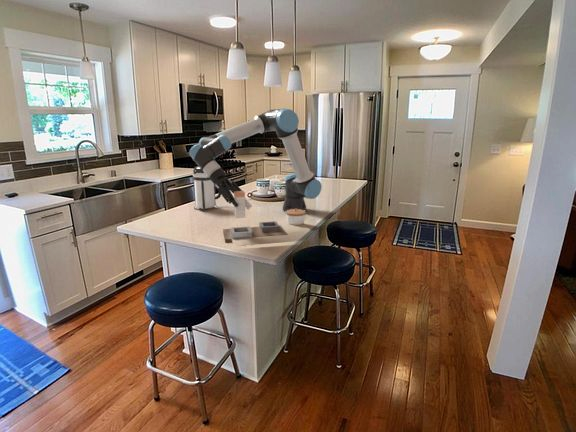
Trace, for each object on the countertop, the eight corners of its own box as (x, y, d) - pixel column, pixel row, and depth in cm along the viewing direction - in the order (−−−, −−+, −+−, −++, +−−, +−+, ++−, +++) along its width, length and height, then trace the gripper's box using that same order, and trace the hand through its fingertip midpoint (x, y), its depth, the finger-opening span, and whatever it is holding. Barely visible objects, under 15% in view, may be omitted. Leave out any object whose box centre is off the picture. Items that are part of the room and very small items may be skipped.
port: (249, 231, 167) (249, 226, 167) (252, 237, 158) (252, 232, 158) (230, 232, 165) (230, 227, 164) (232, 238, 156) (231, 233, 156)
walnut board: (280, 227, 178) (280, 225, 177) (288, 237, 163) (288, 234, 162) (223, 231, 171) (223, 229, 170) (225, 242, 156) (225, 239, 155)
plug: (244, 215, 162) (243, 190, 159) (245, 217, 158) (244, 192, 154) (234, 215, 161) (233, 191, 158) (235, 218, 157) (234, 193, 153)
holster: (276, 225, 176) (276, 221, 175) (279, 230, 168) (279, 226, 167) (259, 227, 174) (259, 222, 173) (262, 232, 166) (262, 227, 165)
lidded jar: (293, 229, 175) (293, 212, 173) (281, 224, 184) (281, 207, 181) (309, 226, 181) (309, 209, 179) (297, 221, 190) (297, 205, 187)
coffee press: (216, 211, 209) (213, 163, 201) (190, 211, 209) (187, 163, 201) (222, 205, 226) (220, 160, 218) (198, 205, 226) (195, 160, 218)
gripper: (221, 175, 168) (251, 209, 167) (198, 181, 151) (231, 219, 150) (230, 165, 165) (260, 200, 164) (207, 169, 148) (241, 209, 147)
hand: (246, 209), depth 157 cm, fingers closed on plug, 6 cm apart
